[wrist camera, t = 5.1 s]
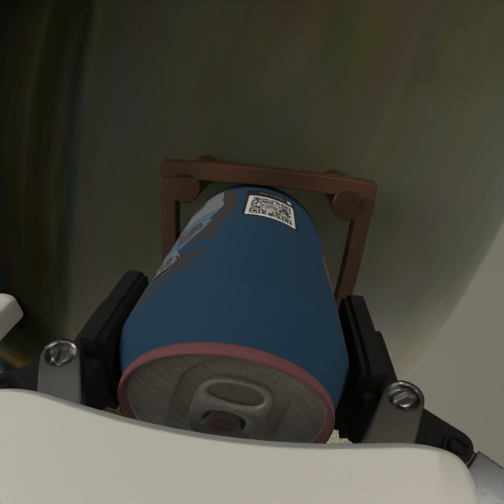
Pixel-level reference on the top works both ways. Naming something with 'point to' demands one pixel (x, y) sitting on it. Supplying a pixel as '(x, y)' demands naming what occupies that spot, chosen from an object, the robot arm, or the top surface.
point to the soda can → (238, 326)
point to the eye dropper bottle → (8, 313)
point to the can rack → (331, 183)
